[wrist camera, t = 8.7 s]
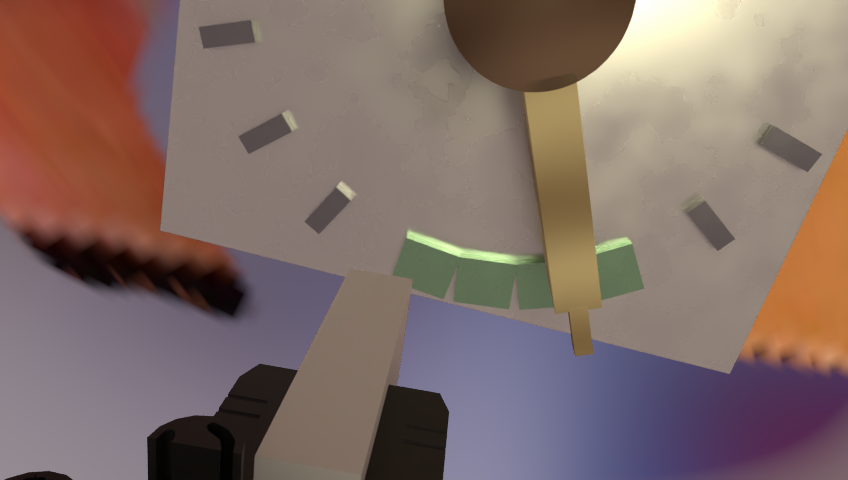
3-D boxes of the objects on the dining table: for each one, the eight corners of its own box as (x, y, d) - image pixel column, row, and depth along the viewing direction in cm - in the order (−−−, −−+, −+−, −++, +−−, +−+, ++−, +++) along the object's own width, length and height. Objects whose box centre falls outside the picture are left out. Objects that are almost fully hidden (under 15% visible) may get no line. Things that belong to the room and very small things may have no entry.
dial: (435, -76, 27) (427, -88, 23) (607, -115, 25) (628, -135, 22) (503, 322, 33) (505, 364, 29) (644, 304, 32) (665, 345, 28)
